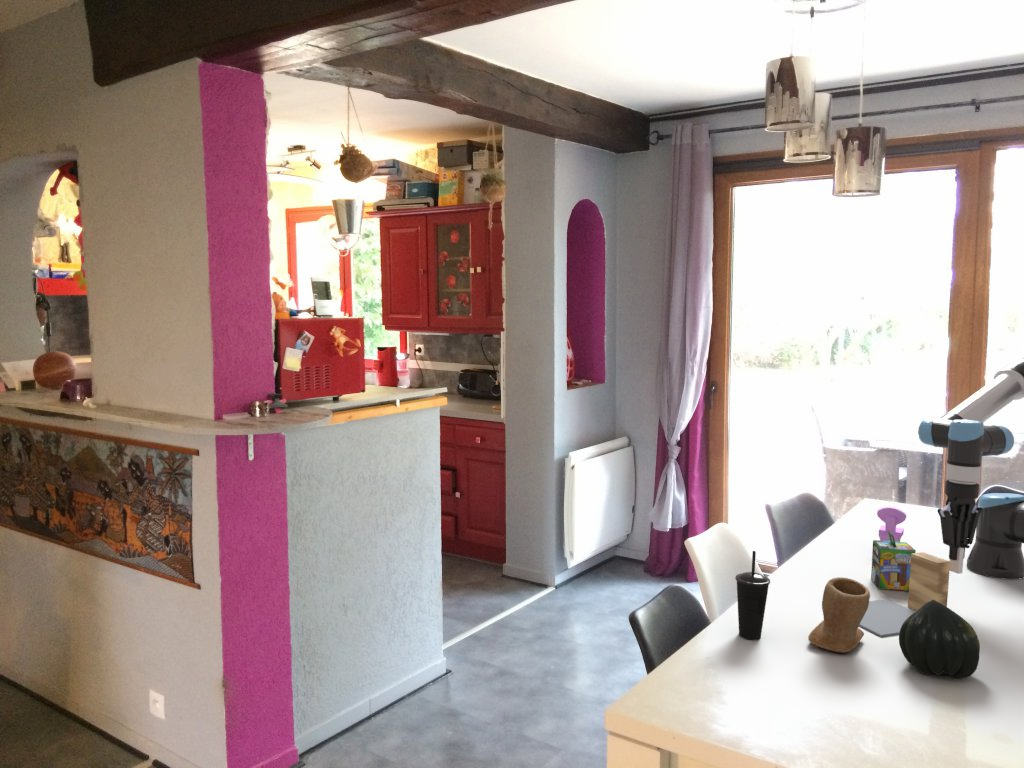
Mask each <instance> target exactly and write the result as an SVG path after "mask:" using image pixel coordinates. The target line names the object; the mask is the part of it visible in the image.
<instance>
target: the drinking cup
mask: <svg viewBox="0 0 1024 768" xmlns="http://www.w3.org/2000/svg"><path fill="white" fill-rule="evenodd" d="M755 569H756V551H755V550H752V557H751V571H745V572H741V573H738V574H736V575H735V577H734V578H735V581H736V590H737V591H736V593H737V598H736V599H737V616H738V619H737V620H738V635H739V637H741V638H742V639H744V640H749V641H758V640H761V637H762V632H763V624H764V618H765V614H766V613H765V612H766V605H767V598H768V591H769V585H771V579H770V578H769V577H768V576H765V575H763V573H759V572H756V570H755Z"/></svg>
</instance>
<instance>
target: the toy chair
mask: <svg viewBox="0 0 1024 768" xmlns="http://www.w3.org/2000/svg"><path fill="white" fill-rule="evenodd" d="M876 516H877V517H878V518H879V519H880V520H881V521H882V522H884V524H885V525H883V524H882V525H881V526H880V528H879V529H878V537H879V540H880V541H890V538H889V534H888V531H890V532H891V533H892V534H893V536H894V540H895V541H896V542H901V538H902V537H903V535H904V530H905V529H904V528H902V527H897V525H901V524H902V523H904V522H905V521H906V520H907V519H906V518H907V514H906V513H905V512H904V511H903V510H901V509H899V508H896V507H891V506H885V507H881V508H879V509H878V510H877V512H876ZM891 538H892V537H891ZM892 541H893V539H892Z"/></svg>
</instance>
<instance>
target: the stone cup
mask: <svg viewBox="0 0 1024 768" xmlns="http://www.w3.org/2000/svg"><path fill="white" fill-rule="evenodd" d="M825 584H826V585H825V587H824V589H823V595H822V601H821V609H822V615H823V620H821V622H819V623H818V625H816V626H815V627H814V629H812V630H811V631H810V633H809V635H808V641H809V642H810V643H811V644H813V646H816V647H818V648H821V649H824V650H827V651H831V652H836V653H847V652H848V653H849V652H850V651H852V650H854V648H856V647H857V645H858V644H859V643H860V641H861V640H862V639H863V637H864V635H865V633H864V631H863V630H862V629H861V628H860V626H859V624H860V622H861V620H862V619H863V617H864V615H865V613H866V611H867V609H868V605H869V601H870V598H871V593H870V591H869V589H868V588H867V587H866V585H864V584H863V583H861V582H859V581H858V580H855V579H852V578H848V577H842V576H841V577H833V578H831V579H829V580H828V581H827V582H826V583H825Z"/></svg>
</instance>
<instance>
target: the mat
mask: <svg viewBox="0 0 1024 768" xmlns="http://www.w3.org/2000/svg"><path fill="white" fill-rule="evenodd" d="M914 612H916V610H914V609H912V608H910V607H906V606H905V605H902V604H899V603H897V602H894V601H892V600H890V599H888V598H882V599H876V600H869V605H868V609H867V611H866V613H865V615H864V617H863V619H862V620H861V622H860V624H859V626H858V627H859V628H862V629H864V630H866V631H868V632H870V633H872V634H874V635H876V636H878V637H880V638H884V637H889V636H895V635H899V633H900V629H901V626H902V625H903V623H904V621H905V620H906V619H907V618H908V617H909V616H911V615H912V614H913V613H914Z"/></svg>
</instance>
